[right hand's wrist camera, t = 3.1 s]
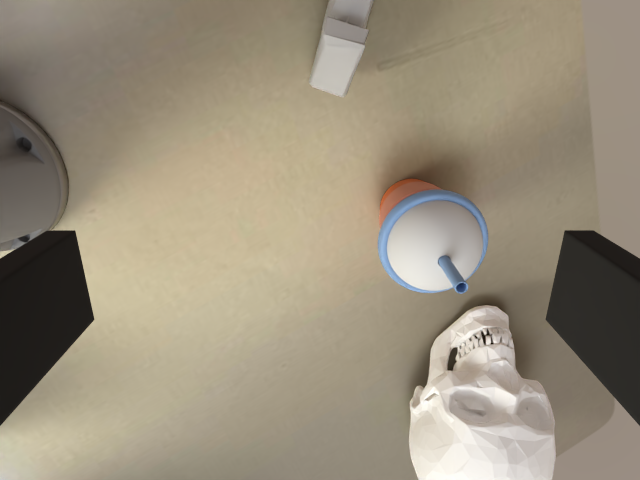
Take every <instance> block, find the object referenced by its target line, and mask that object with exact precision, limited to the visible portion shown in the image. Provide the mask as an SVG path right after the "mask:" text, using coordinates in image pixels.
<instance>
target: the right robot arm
mask: <svg viewBox="0 0 640 480" xmlns="http://www.w3.org/2000/svg"><path fill="white" fill-rule="evenodd" d="M67 199H68V180H67V174H66V170H65V167H64V164H63V161H62V159H61V156H60V154H59V152H58V150H57V149H56V147H55V145H54V144H53V142H52V141H51V139H50V138H49V137H48V135H47V134H46V133H45V132H44V131H43V130H42V129H41V128H40V127H39V126H38V125H37V124H36V123H35V122H34V121H33V120H32V119H30V118H29V117H28V116H27V115H25V114H24V113H22V112H21V111H19V110H18V109H16V108H14V107H12V106H10V105H8V104H6V103H4V102H1V101H0V251H7V250H12V249H15V250H14V251H12V252H10V253H9V254H7V255H6V256H4V257H2V258H1V259H0V425H1V424H2V423H3V422H4V421H5V420H6V419H7V418H8V416H9V415H10V414H11V413H12V412H13V411H14V410H15V408H16V407H17V406H18V405H19V404H20V403H21V402H22V401H23V399H24V398H25V397H26V396H27V395H28V394H29V393H30V392H31V390H32V389H33V388H34V387H35V386H36V385H37V384H38V383H39V381H40V380H41V379H42V378H43V377H44V376H45V375H46V373H47V372H48V371H49V370H50V369H51V368H52V367H53V366H54V364H55V363H56V362H57V361H58V360H59V359H60V358H61V357H62V355H63V354H64V353H65V352H66V351H67V350H68V349H69V348H70V346H71V345H72V344H73V343H74V342H75V341H76V340H77V339H78V337H79V336H80V335H81V334H82V333H83V332H84V331H85V329H86V328H87V327H88V326H89V325H90V324H91V323H92V322H93V320H94V316H93V311H92V307H91V302H90V297H89V293H88V288H87V283H86V279H85V274H84V269H83V265H82V260H81V255H80V251H79V246H78V242H77V237H76V232H75V231H50V230H52V229H53V228H54V227H55V225H56V224H57V223H58V222H59V220H60V218H61V217H62V215H63V213H64V210H65V207H66V204H67ZM16 248H17V249H16ZM546 320H547V322H548V323H549V324H550V325H551V326H552V327H553V328H554V329H555V331H556V332H557V333H558V334H559V335H560V336H561V337H562V339H563V340H564V341H565V342H566V343H567V344H568V345H569V346H570V348H571V349H572V350H573V351H574V352H575V353H576V354H577V355H578V357H579V358H580V359H581V360H582V361H583V362H584V363H585V364H586V366H587V367H588V368H589V369H590V370H591V371H592V372H593V373H594V375H595V376H596V377H597V378H598V379H599V380H600V381H601V383H602V384H603V385H604V386H605V387H606V388H607V389H608V390H609V392H610V393H611V394H612V395H613V396H614V397H615V398H616V399H617V401H618V402H619V403H620V404H621V405H622V406H623V407H624V408H625V410H626V411H627V412H628V413H629V414H630V415H631V416H632V418H633V419H634V420H635V421H636V422H637V423H638V424H639V425H640V259H639V258H638V257H636V256H634V255H633V254H631V253H629V252H628V251H626V250H624V249H623V248H621V247H620V246H618V245H616V244H615V243H613V242H611V241H610V240H608V239H606V238H605V237H603V236H602V235H600V234H598V233H597V232H595V231H565V232H564V237H563V241H562V246H561V251H560V255H559V260H558V265H557V269H556V274H555V279H554V283H553V288H552V293H551V297H550V302H549V307H548V311H547V316H546Z"/></svg>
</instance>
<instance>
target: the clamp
mask: <svg viewBox="0 0 640 480" xmlns="http://www.w3.org/2000/svg"><path fill="white" fill-rule="evenodd" d="M373 1H374V0H329V2H328V6H327V10H326V14H325V18H324V21H323V25H322V29H321V30H322V33H321V37H320V41H319V44H318V48H317V52H316V56H315V59H314V63H313V67H312V71H311V75H310V79H309V83H310V85H311V86H312V87H313V88H316V89H319V90H322V91H325V92H328V93H331V94H334V95H337V96H340V97H345V95H346V94H347V92H348V89H349V86H350V83H351V81H352V78H353V76H354V73H355V71H356V68H357V66H358V63H359V61H360V59H361V56H362V54H363V51H364V49H365V45H364V44H365V41H366V38H367V35H368V33H369V30H368V29H366V26H367V22H368V17H369V14H370V11H371V8H372V5H373Z"/></svg>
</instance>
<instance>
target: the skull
mask: <svg viewBox="0 0 640 480" xmlns="http://www.w3.org/2000/svg"><path fill="white" fill-rule="evenodd" d="M487 329H488V330H489V333H490V335H491V334H492V336H486V345H484V343H483V339H482V335H481V332H482V331H483V333H484V335H486V334H487ZM475 335H476V336H477V337H478V338H477V339H476V338H475ZM491 337H492V339H493V342H494V344H491ZM471 339H472V341H470V340H471ZM478 339H480V340H479V343H478ZM499 342H500V343H499ZM465 343H466V344H465ZM479 345H480V346H479ZM460 346H461V347H460ZM474 346H475V349H473V347H474ZM455 347H458V353H457V356H456V358H455V359H456V361H457V362H456V363H455V364H454V368H453V371H448V369H447V364H448V360H449V356H450V352H451V350H452V349H453V348H455ZM410 410H411V424H410V433H409V446H410V454H411V459H412V463H413V465H414V468H415V471H416V474H417V477H418V479H419V480H552V476H553V471H554V463H555V456H556V452H555V438H554V426H555V420H554V416H553V412H552V408H551V405H550V402H549V399H548V397H547V394H546V392H545V390H544V388H543V386H542V385H541V384H540V383H539V382H538V381H537V380H529V379H524V378H521V376H520V375H519V373H518V372H517V370H516V366H515V352H514V344H513V339H512V338H511V332H510V330H509V319H508V315H507V314H506V313H504V312H503V311H502V310H500V309H499V308H498V307H496V306H489V305H484V306H477V307H474V308H472V309H470V310H468V311H467V312H465V313H464V314H463V315H462V316H461V317H460V318H459V319H457V320H456V321H455V322H454V323H453V324H452V325H451V326H449V327H448V328H447V329H446V330H445V331H444V332H443V333H441V334H440V335H439V336H438V337H437V338H436V339H435V341H434V343H433V346H432V348H431V354H430V368H429V377H428V382H427V385H426V386H425V388H424V387H422V386H421V385H420V386H417V387H416V389H415V391H414V396H413V397H412V399H411V401H410Z"/></svg>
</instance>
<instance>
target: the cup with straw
mask: <svg viewBox="0 0 640 480" xmlns="http://www.w3.org/2000/svg"><path fill="white" fill-rule="evenodd" d="M379 223H380V232H379V237H378V253H379V257H380V260H381V263H382V265H383V267H384V269H385V270H386V272H387V273H388V274H389V276H390V277H391V278H392V279H393V280H394V281H396V282H397V283H398V284H400V285H401V286H403V287H405V288H407V289H410V290H413V291H417V292H422V293H436V292H442V291H446V290H449V289H451V288H454V289H455V291H456V292H457V293H465V292H466V291H467V289H468V284H467V283H466V282H465V281H466V280H467V279H468V278H469V277H470V276H472V275H473V273H474V272H475V271H476V270H477V269H478V267H479V266H480V264H481V263H482V261H483V259H484V256H485V254H486V250H487V245H488V230H487V226H486V222H485V220H484V217H483V216H482V214H481V212H480V211H479V209H478V208H477V207H476V206H475V205H474V204H473V203H472V202H471V201H470V200H469V199H467V198H466V197H464V196H462V195H460V194H458V193H455V192H452V191H448V190H442V189H441V188H439V187H437V186H435V185H433V184H430V183H427V182H424V181H422V180H418V179H405V180H402V181H399V182H397V183H395V184H394V185H392V186H391V187H390V188H389V189H388V190H387V191H386V192H385V194H384V196H383V198H382V200H381V204H380V216H379Z"/></svg>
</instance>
